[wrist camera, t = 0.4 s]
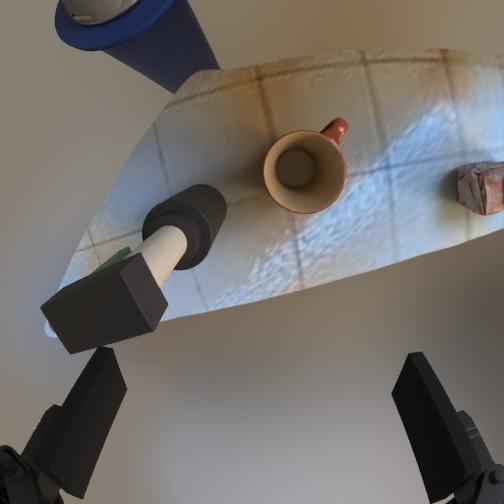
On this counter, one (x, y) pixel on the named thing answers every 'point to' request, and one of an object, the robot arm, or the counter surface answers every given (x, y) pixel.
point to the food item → (482, 187)
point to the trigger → (114, 258)
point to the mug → (306, 168)
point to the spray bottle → (138, 274)
